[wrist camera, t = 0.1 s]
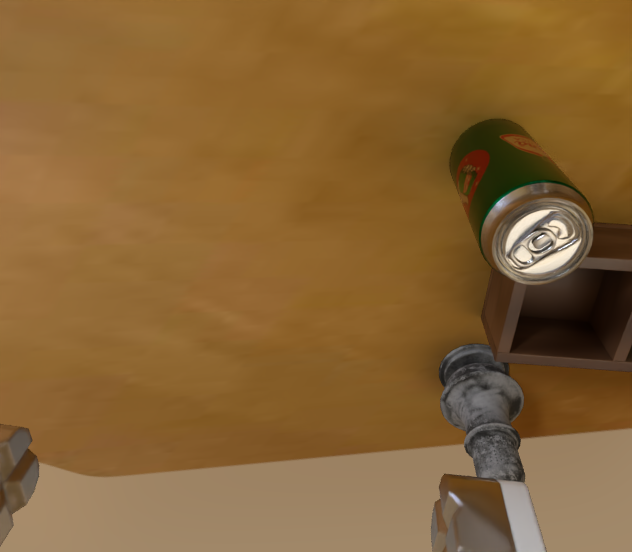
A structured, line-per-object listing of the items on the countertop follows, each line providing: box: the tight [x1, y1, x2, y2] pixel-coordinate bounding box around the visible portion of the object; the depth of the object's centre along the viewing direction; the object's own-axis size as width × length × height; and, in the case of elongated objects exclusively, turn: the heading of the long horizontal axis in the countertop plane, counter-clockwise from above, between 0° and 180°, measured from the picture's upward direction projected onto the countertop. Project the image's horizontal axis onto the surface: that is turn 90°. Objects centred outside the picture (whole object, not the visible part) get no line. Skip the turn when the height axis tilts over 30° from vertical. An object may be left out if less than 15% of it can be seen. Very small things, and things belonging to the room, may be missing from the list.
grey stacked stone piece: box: [439, 344, 525, 482], centre depth 38 cm, size 6×6×12 cm
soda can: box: [450, 119, 594, 285], centre depth 30 cm, size 5×5×12 cm
